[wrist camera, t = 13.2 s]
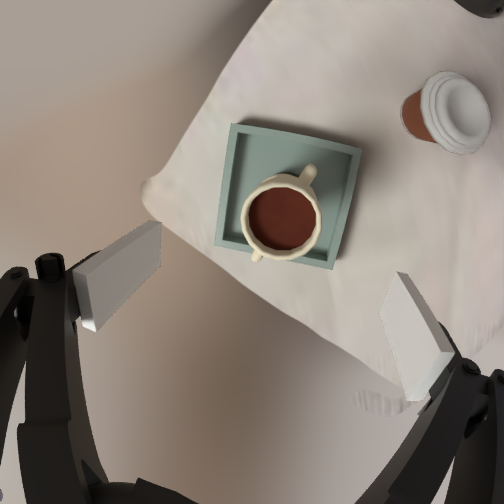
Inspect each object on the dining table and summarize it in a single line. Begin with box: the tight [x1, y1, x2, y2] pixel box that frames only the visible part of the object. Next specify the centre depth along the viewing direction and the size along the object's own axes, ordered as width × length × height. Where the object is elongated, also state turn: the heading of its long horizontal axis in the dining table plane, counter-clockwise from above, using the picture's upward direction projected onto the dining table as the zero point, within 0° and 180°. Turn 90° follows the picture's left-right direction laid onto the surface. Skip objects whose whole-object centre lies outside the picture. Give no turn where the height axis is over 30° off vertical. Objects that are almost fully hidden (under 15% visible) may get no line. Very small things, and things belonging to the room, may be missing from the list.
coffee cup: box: [400, 71, 491, 155], centre depth 24 cm, size 9×9×12 cm
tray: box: [214, 123, 362, 270], centre depth 35 cm, size 16×16×2 cm
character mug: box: [240, 164, 322, 262], centre depth 30 cm, size 11×7×13 cm, turn 150°
